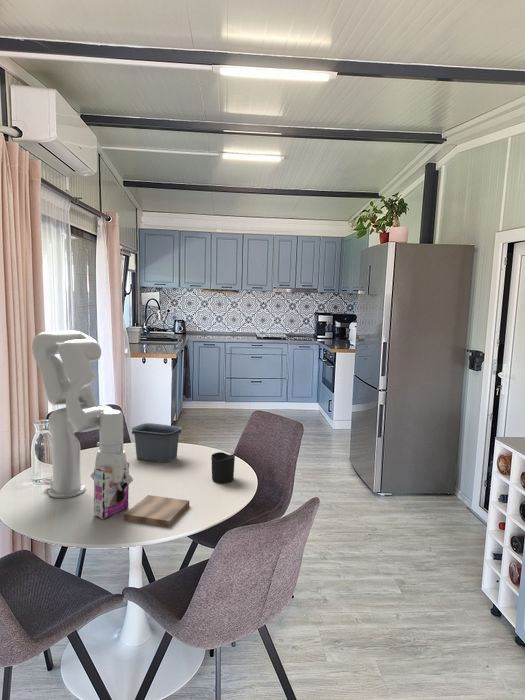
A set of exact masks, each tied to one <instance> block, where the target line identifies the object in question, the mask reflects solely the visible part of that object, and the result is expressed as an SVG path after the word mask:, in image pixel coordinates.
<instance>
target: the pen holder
mask: <svg viewBox="0 0 525 700" xmlns="http://www.w3.org/2000/svg"><path fill="white" fill-rule="evenodd" d="M210 457H211V480H212V482H214V483H216V482H217V483H216V484H229V483H231V482H233V481H234V476H235V475H234V474H235V461H236V460H235V459H236V456H235V454H233V453H232V454H228V453H226V452H223V451H222V452H221V451H220V452H219V451H218V452H214V453H213V454H211V456H210ZM228 482H229V483H228Z"/></svg>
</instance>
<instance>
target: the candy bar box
mask: <svg viewBox="0 0 525 700" xmlns="http://www.w3.org/2000/svg"><path fill="white" fill-rule="evenodd" d="M127 469H128V473H129V474H130V462H129V461H127ZM93 472H94V480H93V484H94V485H93V491H94V492H93V516H94V517H96V518H99V519H101V520H105V519H107V518H109V517H112V516H113V515H116V514H118V513H119V512H121V511H125V510H126V509H128V508H129V489H130V487H129V486H130V484H129V485H128V486H127V487H126V488H125V497H124V499H123V500H122V501H121V502H117V491H118V490H119V489H118V486H117V484H116V483H112V470H111V469H110V468H105V467H97V468H95V467H94V469H93ZM124 481H125V482H126V481H127V480H126V479H124Z"/></svg>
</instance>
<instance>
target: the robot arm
mask: <svg viewBox="0 0 525 700" xmlns="http://www.w3.org/2000/svg"><path fill="white" fill-rule="evenodd" d="M31 346H32V347H31V351H32V355H33V358H34V360H35V362H36V364H37V366H38V368H39V370H40V374H41V377H42V381H43V382H42V383H43V385H44V390H45V394H46V397H47V400H48V402H49V403H50V405H52V406H63V405H65V407H61V408H58V409H56V410H54V411H52V412H51V413H50V415H49V417H48V426H49V430H50V431H49V432H50V435H51V447H52V448H51V449H52V451H51V452H52V477H50V476H49V477H47V478H46V480H45V481H44V484H45V486H50V487H49V489H48V495H49V496H50V497H52V498H55V499H56V498H57V499H68V498H73V497H76V496H80V495H81V494H83V493H84V492H85V490H86V485H85V484H84V483H82V480H81V478H82V477H81V476H82V475H81V473H82V472H81V470H82V469H81V464H82V463H81V443H80V441H79V439H78V438H77V436H76V435H75V433H78V432H79V433H85V432H91V431H93V430H94V431H95V430H99V432H98V433H99V442H96V447H99V450H98V451H97V452H96V457H95V460H94V461H95V464H94V468H97V467H105V468H110V469H111V470H112V483H116V484H117V486H118V489H119V490H118V491H117V502H121V501H122V500H123V499H124V497H125V488H126V487H127V486H128V485H129V486H130V484H131V483H132V482H133V481H134V478H133V477H132V476H131V475H130V472H129V473H128V469H127V462H128V460H127V454H126V451H125V450H124V414H123V412H122V411H121V410H119V409H113V408H112V407H111V406H109V405H100V406H97V405H96V400H95V397H94V391H93V389H92V385H91V384H93V383H94V381H95V380H96V373H95V371H94V369H93V367H92V364H91V363H93V362H97V361H99V360H100V358H101V356H102V349H101V346H100V344H99V343H98V342H97V340H95V339H94V338H92V337H91V336H90V335H87V334H85V333H83V332H81V331H79V330H55V331H53V330H51V331H44V332H40V333H38V334H36V335H35V336H34V338H33V339H32V344H31ZM56 355H59V356H60V358H59V357H57V356H56ZM90 477H91V479H92V480H93V481H94V471H93V472H92V473H91V474H90ZM124 479H126V480H127V481H126V482H125V481H124Z"/></svg>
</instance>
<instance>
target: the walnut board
mask: <svg viewBox="0 0 525 700" xmlns="http://www.w3.org/2000/svg"><path fill="white" fill-rule="evenodd" d="M189 507H190V500H187V499H180V498H171V497H166V496H157V495H150V494H147V495H146V496H145V497H143V499H141V500H140V501H139V502H137V503H136V504H135V505H133V507H131V508H130V509H128V510H127V511H126V512H125V513H124V515H123V519H124V521H129V522H134V523H142V524H147V525H148V524H149V525H154V526H155V525H156V526H160V527H166V528H170V527H171V526H172V525H173V524H174V523H175V522H176V521H177V520H178V518H179V517H181V516H182V515H183V514H184V512H185V511H186V510H187V509H188V508H189Z"/></svg>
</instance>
